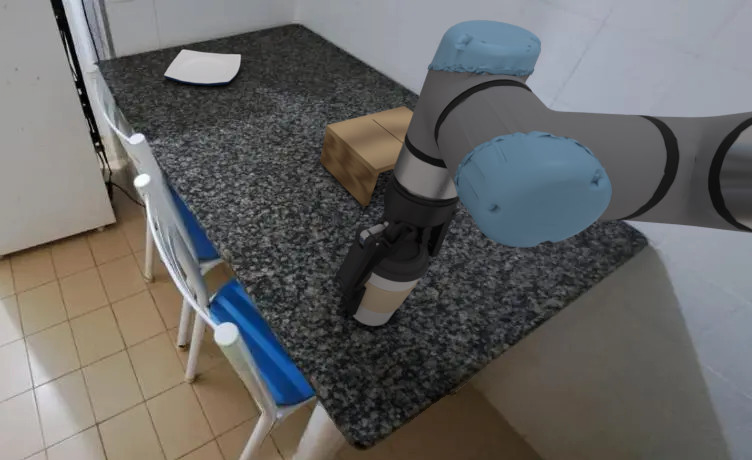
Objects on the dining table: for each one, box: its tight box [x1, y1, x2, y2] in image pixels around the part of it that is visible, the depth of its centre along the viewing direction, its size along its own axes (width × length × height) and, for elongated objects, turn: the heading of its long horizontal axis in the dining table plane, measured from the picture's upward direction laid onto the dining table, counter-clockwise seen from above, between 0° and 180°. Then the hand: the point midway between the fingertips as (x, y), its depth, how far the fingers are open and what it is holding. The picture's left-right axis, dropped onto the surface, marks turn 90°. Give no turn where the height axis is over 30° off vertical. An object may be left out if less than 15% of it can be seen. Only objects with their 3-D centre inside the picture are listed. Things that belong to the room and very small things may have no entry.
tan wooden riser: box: [319, 105, 414, 208], centre depth 81 cm, size 16×20×9 cm
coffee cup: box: [352, 237, 430, 327], centre depth 55 cm, size 9×9×15 cm
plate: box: [163, 49, 242, 87], centre depth 115 cm, size 20×20×3 cm
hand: (373, 297), depth 59 cm, fingers closed on coffee cup, 8 cm apart
